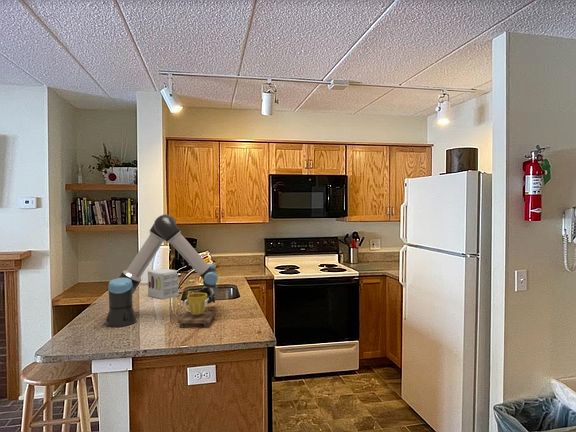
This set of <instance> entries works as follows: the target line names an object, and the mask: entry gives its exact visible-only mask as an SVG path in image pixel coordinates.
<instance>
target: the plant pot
mask: <svg viewBox="0 0 576 432" xmlns="http://www.w3.org/2000/svg"><path fill="white" fill-rule="evenodd" d="M186 297H187V301H188V303H189V304H188V306H189V310H190V312H191V314H194V315H198V314H202V313H204V311H205V308H206V306H205V300H207V294H206V293H198V292H193V293H189V294H187V296H186Z"/></svg>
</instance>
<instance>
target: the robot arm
mask: <svg viewBox="0 0 576 432" xmlns="http://www.w3.org/2000/svg"><path fill="white" fill-rule="evenodd" d="M181 232H182V230H180V228H179V227H178V226H177V222H176V219H175V218H174V217H173V216H172V215H171V214H166V213H165V214H161V215H160V216H158V217H156V218H155V220H154V223H153V224H152V226H151V227H150V229H149V236H148V237H147V238H146V240H145V242H144V243H143V245H142V246H141V248H140V249H139V251H138V252H137V254H136V255H135V256H134V259H133V260H132V261H131V263H130V264H129V266H128V267H127V269H125V270H123V271H121V274H120V275H119V276H118V277H117V278H115V279H114V278H113V279H111V280H110V281H109V282H108V288H107V289H108V307H109V308H108V313H107V316H106V320H105V325H106V327H111V328H119V327H126V326H130V325H133V324H135V323H137V315H136V313H135V309H134V307H133V294H134V293H135V292H136V290H137V288H138V287H139V285H140V283H141V282H142V275H143V274H144V272H145V271H146V269H147V268H148V266H149V265H150V263H151V261H152V260H153V258H154V257H155V256H156V255H157V252H158V251H159V249H160V247H162V245H163V243H164V242H166V243H169V244H170V245H172V247H173V248H174V249H175V250H176V251H177V252H178V254H180V256H181V257H182V258H184V260H185V261H186V262H187V263H188V264H189V265H190V267H192V269H193V270H194V271H195V272H196V273H197V274H198V276H199V277H201V279H202V280H203V282H202V285H203V287H202V288H201V289H199V291H198V292H197V293H206V294H207V300H205V307H207V306H208V305H209V304H211V303H216V293H217V291H218V286H217V285H218V284H217V282H218V274H217V271H216V268H217V267H216V264H213V263H207V262H206V261H205V259H204V258H203V257H202V256H201V255H200V254H199V253H198V251H196V249H194V247H193V246H192V245H191V243H190V242H189V241H188V240H187V239H186V238H185V237H184V236H183V235H182V233H181ZM182 299H183V300H182V303H183V305H184V306H183V307H187V306H189V303H188V301H187V296H184V297H183V298H182Z"/></svg>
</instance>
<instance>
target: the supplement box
mask: <svg viewBox="0 0 576 432" xmlns="http://www.w3.org/2000/svg"><path fill="white" fill-rule="evenodd" d="M177 271H178V273H177ZM147 295H148V297H149V298H150V297H151V298H155V299H159V300H163V301H164V300H168V299H171V298H175V297H179V270H176V269H172V268H171V269H170V268H163V267H162V268H158V269H157V268H156V269H152V270H148V271H147Z"/></svg>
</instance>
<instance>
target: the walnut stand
mask: <svg viewBox="0 0 576 432" xmlns="http://www.w3.org/2000/svg"><path fill="white" fill-rule="evenodd" d="M216 314H217V312H216V310H215V311H213V310H211V311H207V310H206V311H205V310H204V313H202V314H198V315H194V314H191V311H185V313H184V314H183V315H182V316H181V317H180V318H179V319H177V324H178V325H179V328H185V324H203V325H204V326H203V327H204V328H209V327H210V322H211V321H214V320H216V318H215V317H216Z"/></svg>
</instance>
